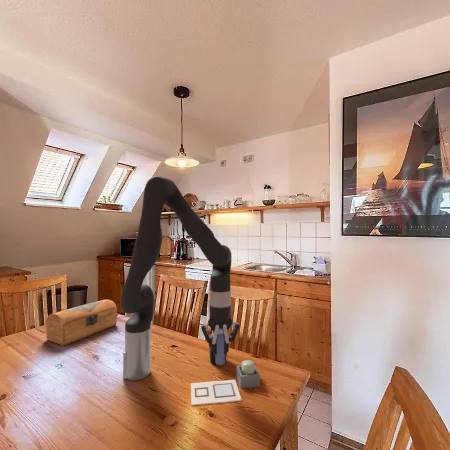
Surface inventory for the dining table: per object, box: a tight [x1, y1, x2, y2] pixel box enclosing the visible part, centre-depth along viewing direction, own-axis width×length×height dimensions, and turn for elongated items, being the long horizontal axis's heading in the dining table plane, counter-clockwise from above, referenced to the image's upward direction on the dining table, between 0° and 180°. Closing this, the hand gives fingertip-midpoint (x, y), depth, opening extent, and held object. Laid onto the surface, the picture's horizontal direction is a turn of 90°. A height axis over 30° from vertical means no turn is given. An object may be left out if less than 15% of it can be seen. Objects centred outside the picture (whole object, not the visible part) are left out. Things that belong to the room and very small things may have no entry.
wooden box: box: [45, 299, 118, 347], centre depth 135 cm, size 30×16×14 cm, turn 151°
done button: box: [241, 359, 255, 375], centre depth 92 cm, size 5×5×4 cm
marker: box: [215, 329, 226, 366], centre depth 87 cm, size 3×3×12 cm
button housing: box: [236, 363, 261, 389], centre depth 92 cm, size 7×7×4 cm
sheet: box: [190, 379, 242, 407], centre depth 86 cm, size 16×11×1 cm
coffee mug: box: [208, 333, 228, 367], centre depth 107 cm, size 12×9×10 cm
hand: (220, 353), depth 87 cm, fingers closed on marker, 3 cm apart
